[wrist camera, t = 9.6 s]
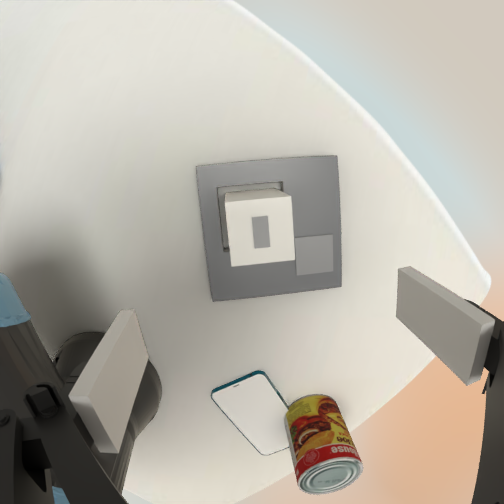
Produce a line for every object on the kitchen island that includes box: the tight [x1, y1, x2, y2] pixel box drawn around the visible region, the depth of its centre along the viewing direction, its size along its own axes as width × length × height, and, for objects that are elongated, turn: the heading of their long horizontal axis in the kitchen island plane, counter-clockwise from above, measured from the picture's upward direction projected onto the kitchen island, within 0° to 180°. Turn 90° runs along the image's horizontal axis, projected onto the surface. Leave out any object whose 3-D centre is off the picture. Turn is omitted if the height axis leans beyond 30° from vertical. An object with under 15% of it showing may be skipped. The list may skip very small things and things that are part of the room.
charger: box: [225, 188, 295, 267], centre depth 29 cm, size 5×5×9 cm
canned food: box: [284, 395, 363, 495], centre depth 35 cm, size 8×8×12 cm
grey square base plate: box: [196, 156, 342, 302], centre depth 33 cm, size 14×14×2 cm
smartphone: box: [211, 371, 289, 455], centre depth 41 cm, size 8×1×16 cm
